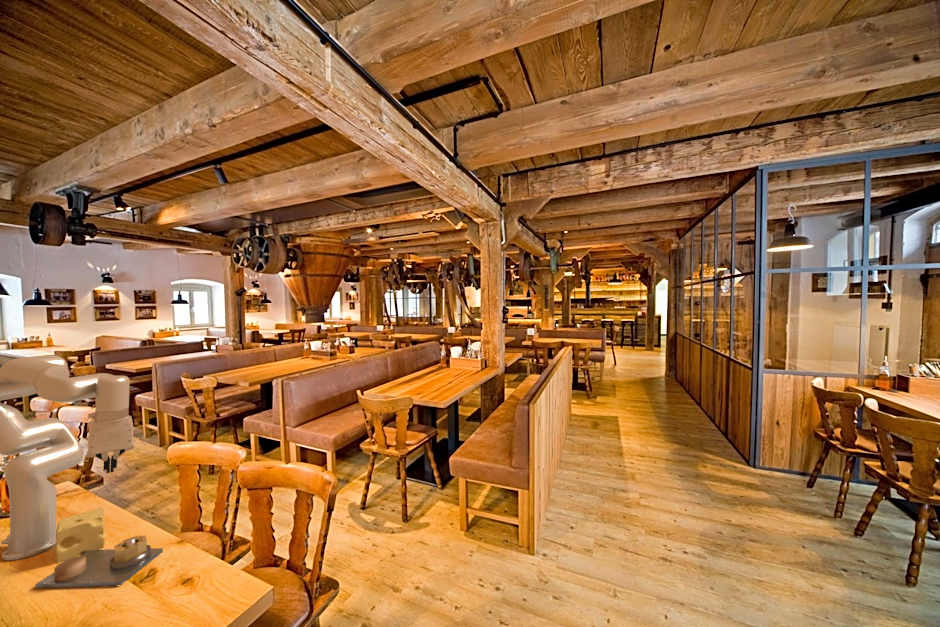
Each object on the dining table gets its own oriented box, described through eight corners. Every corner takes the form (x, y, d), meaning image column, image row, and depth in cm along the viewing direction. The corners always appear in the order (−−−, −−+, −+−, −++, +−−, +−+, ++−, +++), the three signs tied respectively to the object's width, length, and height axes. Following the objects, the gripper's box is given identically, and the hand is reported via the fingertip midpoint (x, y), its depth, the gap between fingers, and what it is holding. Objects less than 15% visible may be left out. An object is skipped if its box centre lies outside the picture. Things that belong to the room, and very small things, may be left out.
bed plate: (35, 588, 97) (35, 584, 97) (89, 553, 111) (89, 550, 111) (119, 586, 97) (119, 582, 97) (162, 551, 111) (162, 548, 111)
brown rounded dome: (47, 586, 97) (47, 571, 97) (71, 570, 103) (71, 556, 103) (69, 585, 98) (69, 570, 98) (92, 569, 104) (92, 555, 104)
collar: (114, 566, 101) (114, 554, 101) (114, 554, 106) (114, 543, 106) (147, 553, 106) (147, 542, 106) (145, 543, 111) (145, 532, 111)
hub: (100, 574, 102) (100, 550, 102) (129, 553, 111) (129, 530, 111) (132, 573, 102) (132, 549, 102) (158, 552, 111) (158, 530, 111)
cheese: (104, 547, 113) (104, 517, 113) (53, 565, 106) (53, 532, 106) (104, 534, 121) (104, 505, 121) (56, 549, 113) (56, 519, 113)
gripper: (76, 422, 103) (73, 483, 103) (144, 413, 114) (142, 468, 114) (78, 416, 109) (75, 474, 109) (143, 408, 119) (141, 460, 119)
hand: (110, 471), depth 111 cm, fingers closed
